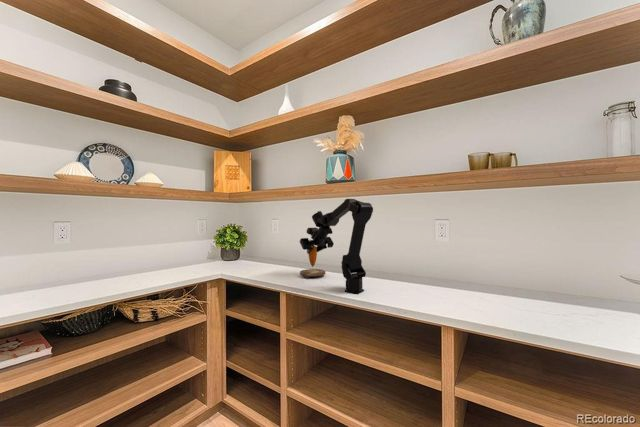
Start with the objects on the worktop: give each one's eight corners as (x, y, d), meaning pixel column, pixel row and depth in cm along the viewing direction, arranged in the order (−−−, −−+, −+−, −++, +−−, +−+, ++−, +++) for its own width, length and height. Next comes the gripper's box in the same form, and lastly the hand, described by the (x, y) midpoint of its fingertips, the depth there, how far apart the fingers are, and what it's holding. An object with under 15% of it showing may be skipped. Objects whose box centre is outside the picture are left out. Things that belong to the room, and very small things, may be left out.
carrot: (318, 266, 147) (318, 239, 148) (314, 267, 143) (314, 239, 143) (311, 265, 150) (310, 239, 150) (306, 267, 145) (306, 239, 146)
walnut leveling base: (330, 275, 148) (330, 270, 148) (315, 280, 137) (315, 275, 137) (310, 272, 156) (310, 267, 156) (294, 276, 145) (294, 271, 145)
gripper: (330, 222, 149) (319, 240, 158) (300, 222, 138) (291, 242, 147) (339, 237, 142) (327, 255, 151) (308, 239, 132) (298, 258, 141)
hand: (311, 252), depth 148 cm, fingers closed on carrot, 5 cm apart
